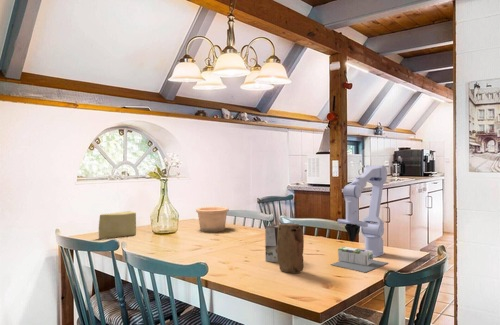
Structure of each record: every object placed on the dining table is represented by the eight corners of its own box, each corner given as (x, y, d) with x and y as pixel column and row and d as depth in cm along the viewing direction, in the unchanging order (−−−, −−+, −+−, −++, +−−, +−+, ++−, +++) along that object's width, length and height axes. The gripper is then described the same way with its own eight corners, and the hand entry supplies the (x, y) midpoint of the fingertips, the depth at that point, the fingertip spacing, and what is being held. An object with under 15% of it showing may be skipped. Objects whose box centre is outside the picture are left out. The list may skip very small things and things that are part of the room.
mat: (354, 256, 187) (354, 256, 187) (388, 263, 175) (388, 262, 175) (330, 265, 173) (330, 264, 173) (365, 272, 161) (365, 272, 161)
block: (275, 269, 166) (275, 223, 166) (287, 266, 171) (287, 221, 171) (295, 275, 158) (294, 226, 158) (306, 271, 163) (306, 224, 163)
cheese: (102, 240, 231) (102, 215, 231) (96, 238, 239) (95, 213, 238) (136, 235, 247) (136, 211, 246) (129, 233, 254) (129, 210, 254)
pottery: (203, 234, 248) (203, 211, 248) (191, 228, 267) (191, 208, 267) (234, 230, 258) (233, 209, 258) (220, 226, 277) (220, 206, 277)
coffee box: (277, 262, 178) (277, 227, 178) (265, 261, 181) (264, 226, 181) (286, 258, 186) (285, 224, 186) (274, 256, 189) (273, 223, 189)
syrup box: (343, 246, 183) (373, 250, 174) (343, 258, 183) (373, 263, 174) (337, 248, 179) (368, 252, 170) (338, 261, 179) (368, 266, 170)
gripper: (333, 210, 179) (333, 240, 179) (362, 213, 168) (362, 244, 168) (342, 209, 184) (342, 237, 184) (370, 212, 173) (370, 242, 173)
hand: (352, 241), depth 176 cm, fingers closed
